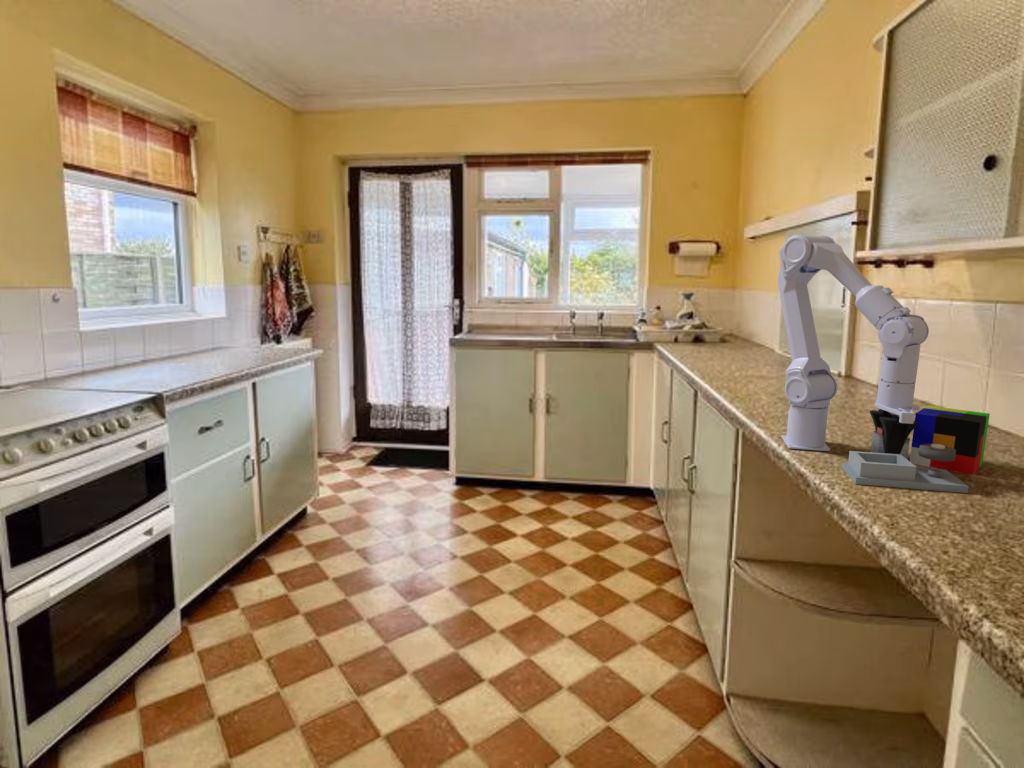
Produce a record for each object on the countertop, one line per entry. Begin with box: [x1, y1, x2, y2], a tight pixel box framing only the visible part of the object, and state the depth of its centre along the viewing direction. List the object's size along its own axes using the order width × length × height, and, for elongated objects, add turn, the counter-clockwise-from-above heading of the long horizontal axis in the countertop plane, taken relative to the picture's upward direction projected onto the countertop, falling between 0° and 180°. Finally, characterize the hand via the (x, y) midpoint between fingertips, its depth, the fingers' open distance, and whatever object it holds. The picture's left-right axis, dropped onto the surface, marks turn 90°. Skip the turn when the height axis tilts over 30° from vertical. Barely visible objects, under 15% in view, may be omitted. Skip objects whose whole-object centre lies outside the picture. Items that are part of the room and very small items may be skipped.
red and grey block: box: [869, 427, 911, 460], centre depth 115 cm, size 4×5×6 cm
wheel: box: [919, 444, 956, 461], centre depth 106 cm, size 5×5×2 cm
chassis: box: [841, 450, 970, 494], centre depth 108 cm, size 9×17×4 cm, turn 75°
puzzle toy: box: [909, 405, 990, 476], centre depth 117 cm, size 10×10×10 cm
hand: (888, 451), depth 115 cm, fingers closed on red and grey block, 4 cm apart
